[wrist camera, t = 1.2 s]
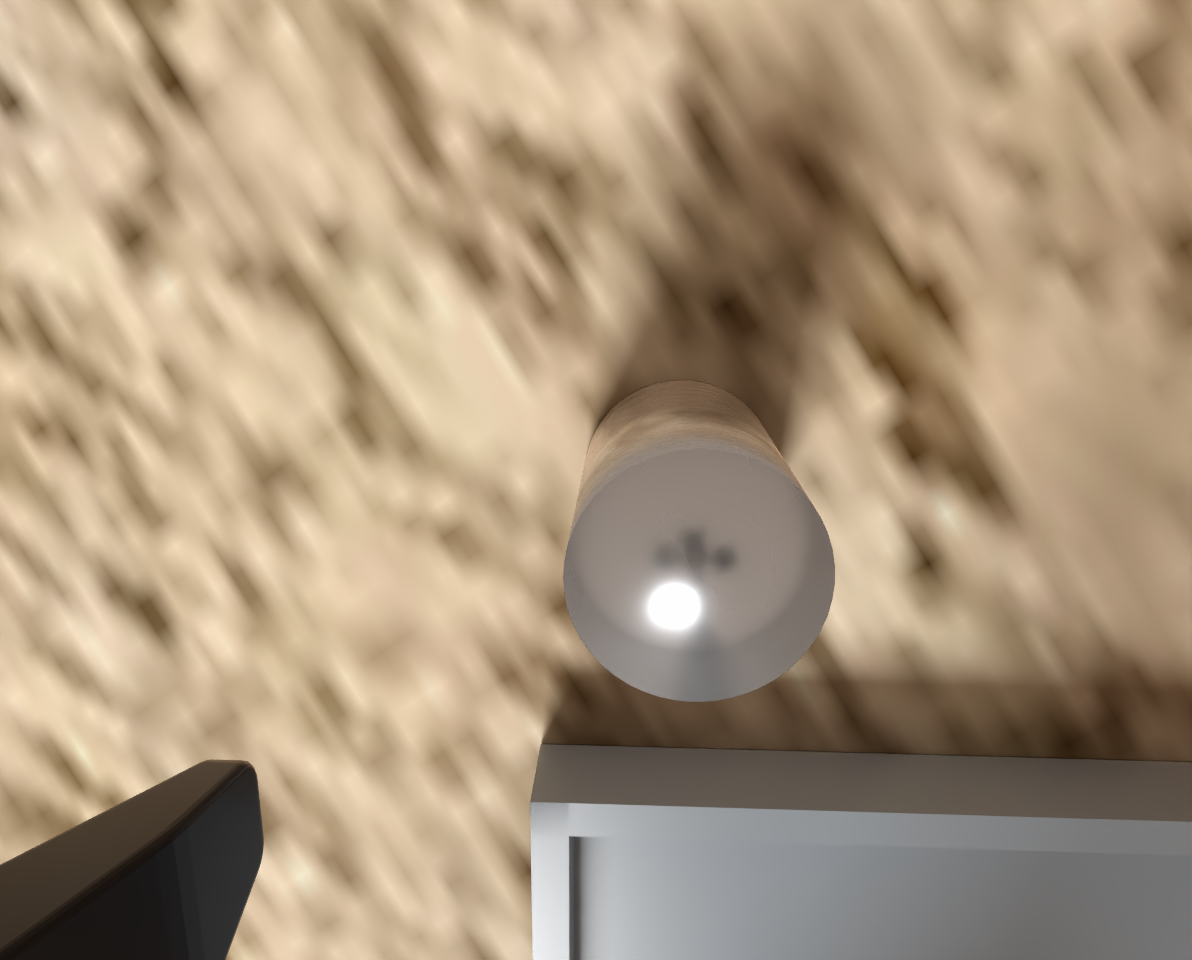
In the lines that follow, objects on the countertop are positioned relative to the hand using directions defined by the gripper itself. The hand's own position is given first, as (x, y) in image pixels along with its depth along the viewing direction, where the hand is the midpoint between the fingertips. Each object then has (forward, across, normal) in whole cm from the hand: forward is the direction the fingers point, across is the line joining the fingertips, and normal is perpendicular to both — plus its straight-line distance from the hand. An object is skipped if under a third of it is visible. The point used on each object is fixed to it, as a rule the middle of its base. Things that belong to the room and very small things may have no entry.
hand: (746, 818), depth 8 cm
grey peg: (+12, 0, 0) cm, 12 cm away
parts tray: (+12, -6, +12) cm, 18 cm away
